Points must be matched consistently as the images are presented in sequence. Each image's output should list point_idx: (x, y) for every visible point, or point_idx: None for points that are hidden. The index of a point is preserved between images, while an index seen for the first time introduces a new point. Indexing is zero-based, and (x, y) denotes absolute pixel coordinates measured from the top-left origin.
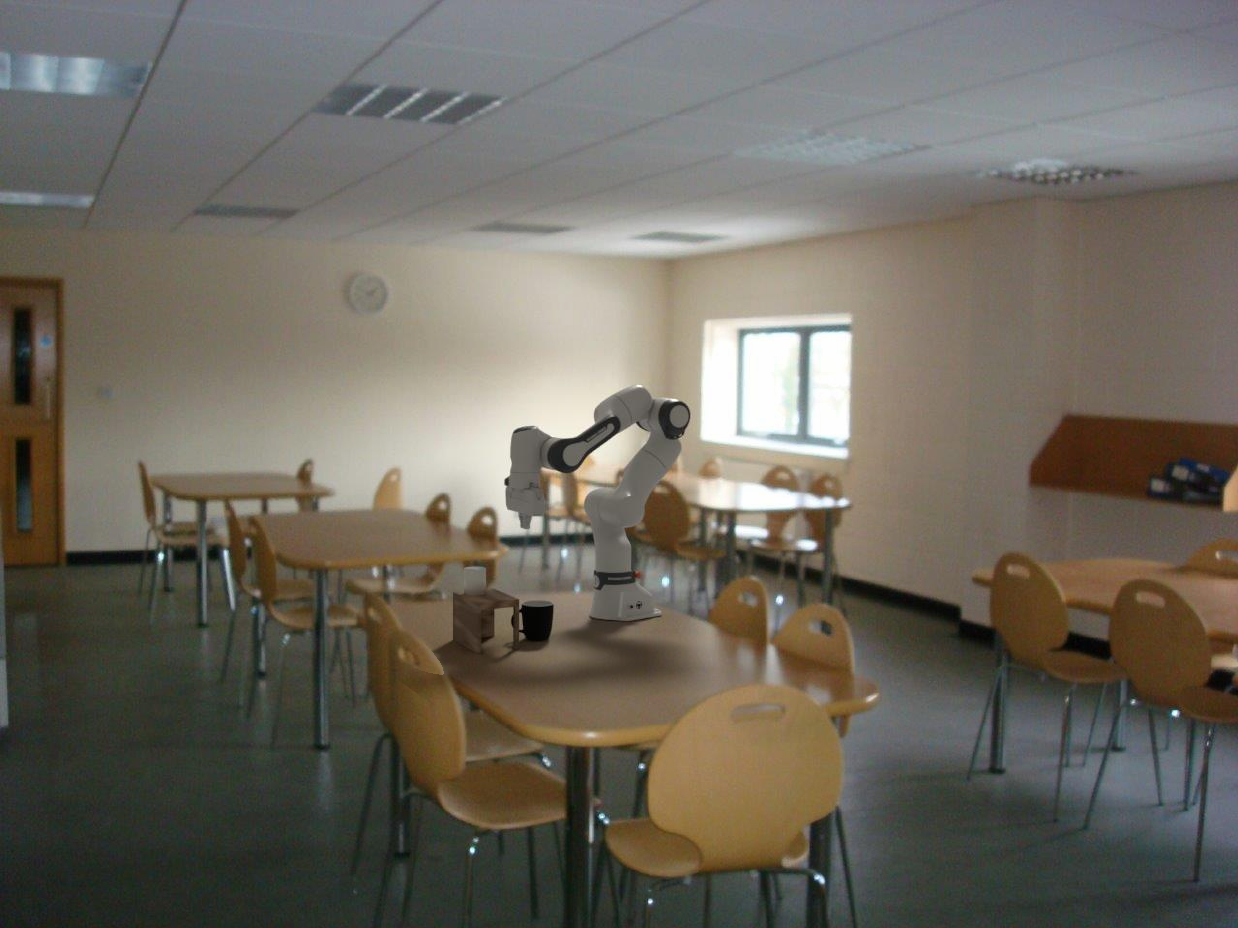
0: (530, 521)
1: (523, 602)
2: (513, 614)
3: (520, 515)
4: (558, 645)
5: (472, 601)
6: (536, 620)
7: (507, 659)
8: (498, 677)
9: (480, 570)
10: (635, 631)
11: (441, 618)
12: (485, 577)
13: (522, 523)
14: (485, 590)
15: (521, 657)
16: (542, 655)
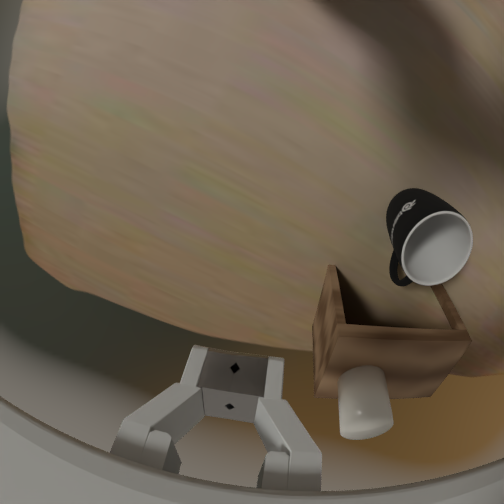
0: (294, 413)
1: (407, 272)
2: (450, 324)
3: (179, 465)
4: (469, 212)
5: (410, 396)
6: (445, 252)
7: (462, 316)
8: (492, 349)
9: (391, 424)
10: (464, 10)
11: (135, 267)
12: (387, 400)
13: (233, 413)
14: (382, 375)
15: (470, 298)
16: (486, 270)
